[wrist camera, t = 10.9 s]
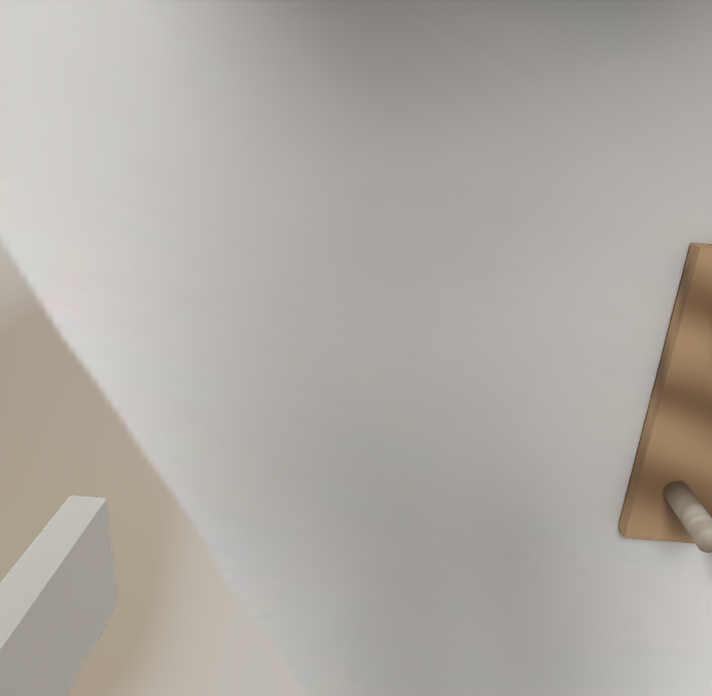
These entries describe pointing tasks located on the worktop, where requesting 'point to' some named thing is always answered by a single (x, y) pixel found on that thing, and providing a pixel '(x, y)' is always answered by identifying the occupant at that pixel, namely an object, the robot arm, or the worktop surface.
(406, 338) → the worktop surface
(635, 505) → the peg rack
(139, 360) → the worktop surface
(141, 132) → the worktop surface
